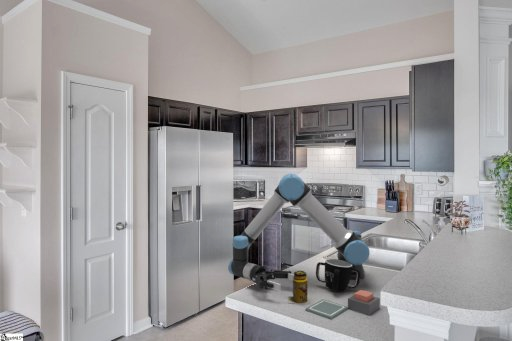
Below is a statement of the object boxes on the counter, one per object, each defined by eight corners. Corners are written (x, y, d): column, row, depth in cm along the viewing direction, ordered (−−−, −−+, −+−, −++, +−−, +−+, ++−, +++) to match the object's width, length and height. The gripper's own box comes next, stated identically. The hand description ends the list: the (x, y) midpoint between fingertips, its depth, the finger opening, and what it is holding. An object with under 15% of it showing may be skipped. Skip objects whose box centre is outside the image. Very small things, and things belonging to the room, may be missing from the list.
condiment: (308, 304, 141) (308, 275, 141) (288, 303, 142) (287, 274, 141) (307, 297, 148) (307, 269, 148) (288, 296, 149) (287, 269, 149)
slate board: (323, 301, 144) (323, 299, 144) (348, 309, 136) (348, 306, 136) (305, 310, 135) (305, 308, 135) (331, 319, 127) (331, 317, 127)
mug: (311, 282, 162) (314, 257, 162) (340, 282, 168) (343, 257, 167) (330, 296, 147) (333, 268, 147) (361, 295, 152) (364, 268, 152)
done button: (360, 297, 140) (360, 289, 140) (373, 300, 136) (373, 293, 136) (354, 301, 136) (354, 293, 136) (367, 304, 132) (367, 297, 132)
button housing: (358, 301, 143) (358, 292, 143) (379, 308, 136) (379, 298, 136) (347, 308, 136) (347, 298, 136) (369, 315, 130) (369, 304, 130)
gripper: (272, 274, 171) (307, 284, 156) (235, 287, 153) (271, 300, 138) (272, 259, 170) (307, 268, 156) (235, 270, 152) (271, 282, 138)
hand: (290, 283), depth 147 cm, fingers open, 13 cm apart
